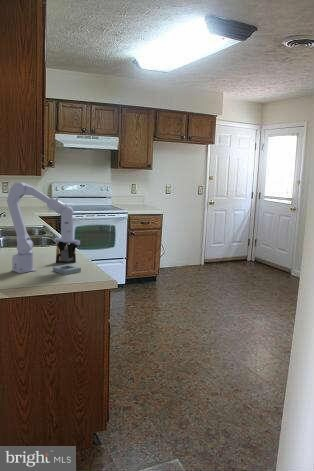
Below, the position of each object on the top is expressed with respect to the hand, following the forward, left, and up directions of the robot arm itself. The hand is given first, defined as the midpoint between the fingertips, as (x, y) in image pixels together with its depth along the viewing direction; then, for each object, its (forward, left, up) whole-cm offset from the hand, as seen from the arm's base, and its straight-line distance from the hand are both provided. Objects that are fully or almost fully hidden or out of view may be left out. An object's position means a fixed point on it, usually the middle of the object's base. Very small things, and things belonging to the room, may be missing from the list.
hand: (67, 257), depth 208 cm
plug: (0, 0, -2) cm, 2 cm away
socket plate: (0, 0, -7) cm, 7 cm away
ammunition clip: (+11, +16, -8) cm, 21 cm away
